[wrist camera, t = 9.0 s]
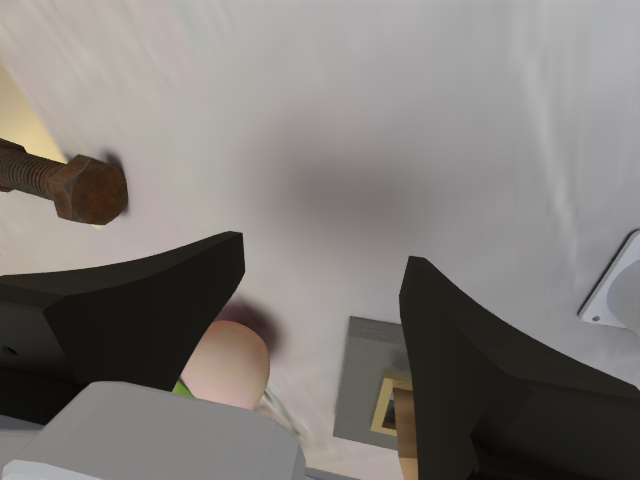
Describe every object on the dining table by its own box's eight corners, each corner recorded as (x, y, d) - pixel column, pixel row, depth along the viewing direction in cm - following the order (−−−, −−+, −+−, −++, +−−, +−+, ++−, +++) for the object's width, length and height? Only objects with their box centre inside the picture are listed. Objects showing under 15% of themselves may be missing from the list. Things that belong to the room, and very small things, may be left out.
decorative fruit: (300, 328, 28) (267, 430, 19) (265, 367, 31) (224, 468, 23) (221, 280, 27) (147, 365, 18) (195, 326, 30) (123, 416, 22)
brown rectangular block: (436, 368, 27) (460, 460, 20) (440, 397, 29) (463, 491, 22) (391, 370, 28) (398, 457, 21) (397, 397, 30) (406, 487, 23)
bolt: (0, 137, 26) (138, 175, 25) (-17, 186, 26) (122, 228, 24) (-98, 103, 20) (77, 151, 19) (-120, 166, 20) (55, 219, 19)
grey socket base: (527, 346, 24) (548, 377, 21) (470, 443, 31) (480, 475, 28) (350, 316, 26) (348, 341, 23) (335, 414, 33) (332, 442, 30)
